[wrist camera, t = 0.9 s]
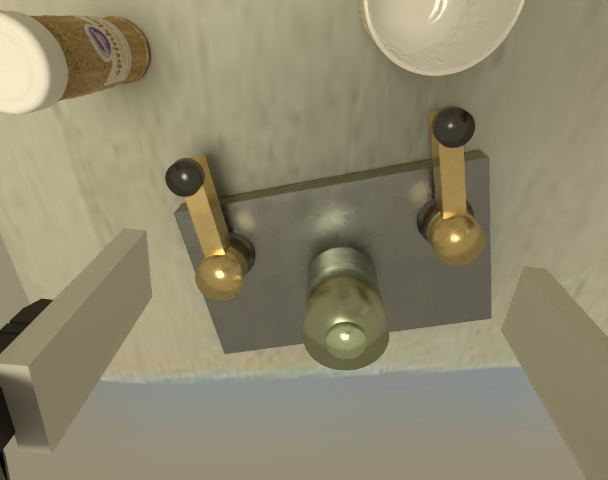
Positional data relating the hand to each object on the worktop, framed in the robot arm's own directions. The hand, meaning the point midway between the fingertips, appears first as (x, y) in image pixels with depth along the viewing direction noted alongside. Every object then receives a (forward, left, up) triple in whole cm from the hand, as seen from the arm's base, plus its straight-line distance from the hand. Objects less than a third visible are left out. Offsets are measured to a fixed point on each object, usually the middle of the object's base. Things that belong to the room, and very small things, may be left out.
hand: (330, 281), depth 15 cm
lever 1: (+10, +4, -19) cm, 22 cm away
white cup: (-7, -8, -21) cm, 24 cm away
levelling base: (+1, +11, -21) cm, 24 cm away
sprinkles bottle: (+14, -9, -21) cm, 27 cm away
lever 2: (-8, +4, -19) cm, 21 cm away
